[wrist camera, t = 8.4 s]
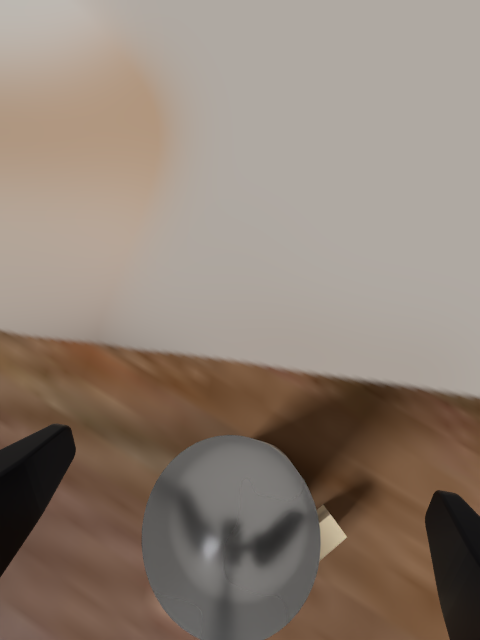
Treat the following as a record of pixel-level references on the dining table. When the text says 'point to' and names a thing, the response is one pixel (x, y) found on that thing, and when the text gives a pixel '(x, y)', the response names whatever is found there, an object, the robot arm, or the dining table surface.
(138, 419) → the dining table surface
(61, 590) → the dining table surface
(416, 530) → the dining table surface
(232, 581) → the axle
